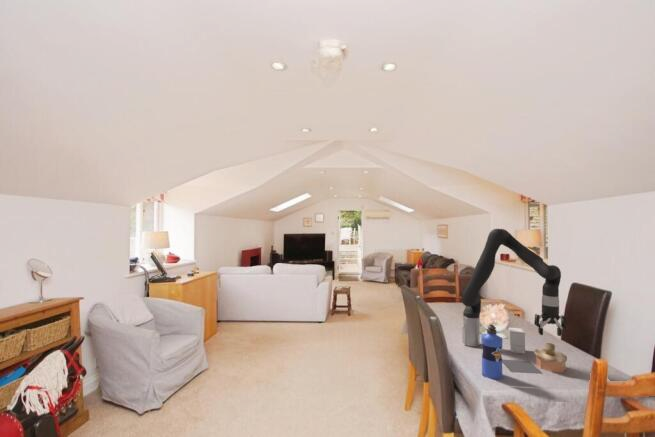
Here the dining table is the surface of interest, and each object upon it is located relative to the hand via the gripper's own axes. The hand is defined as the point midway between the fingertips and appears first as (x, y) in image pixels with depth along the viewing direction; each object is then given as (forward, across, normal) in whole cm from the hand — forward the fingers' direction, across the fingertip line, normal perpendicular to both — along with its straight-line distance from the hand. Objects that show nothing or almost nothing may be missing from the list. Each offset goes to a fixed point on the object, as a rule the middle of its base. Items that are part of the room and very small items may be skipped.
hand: (550, 335), depth 171 cm
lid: (+11, 0, 0) cm, 11 cm away
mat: (+17, -15, -1) cm, 23 cm away
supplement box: (+18, -8, +21) cm, 28 cm away
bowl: (+17, 0, 0) cm, 17 cm away
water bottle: (+18, -33, -13) cm, 39 cm away
